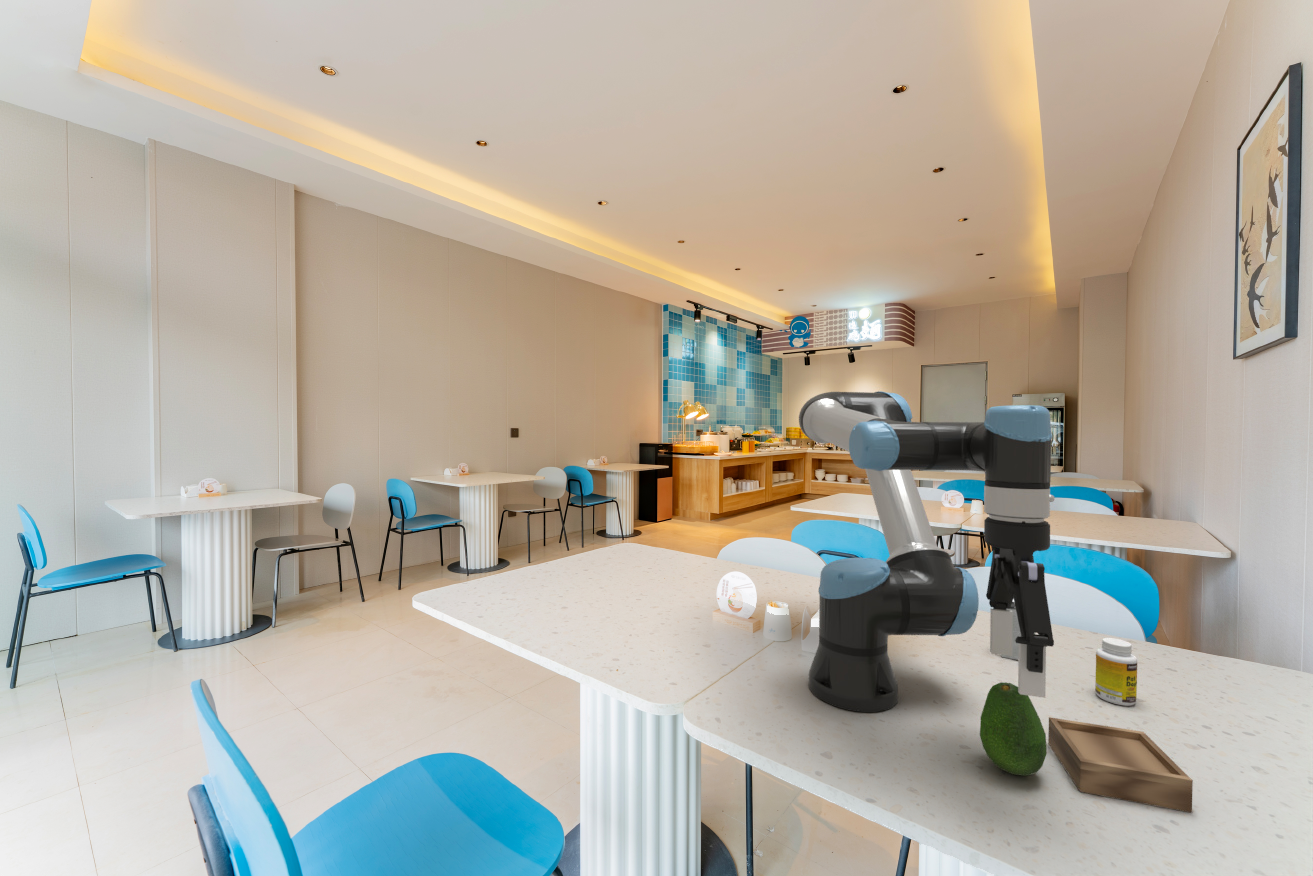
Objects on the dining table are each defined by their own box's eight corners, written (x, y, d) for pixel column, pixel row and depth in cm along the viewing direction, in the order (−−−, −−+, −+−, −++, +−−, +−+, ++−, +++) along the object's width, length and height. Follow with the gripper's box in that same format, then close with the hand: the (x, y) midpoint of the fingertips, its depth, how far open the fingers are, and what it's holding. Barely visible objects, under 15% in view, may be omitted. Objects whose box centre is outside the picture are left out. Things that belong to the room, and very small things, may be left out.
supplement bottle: (1130, 710, 91) (1131, 650, 91) (1090, 697, 96) (1091, 639, 96) (1141, 701, 94) (1142, 643, 94) (1102, 688, 99) (1102, 633, 99)
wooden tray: (1080, 791, 70) (1080, 761, 70) (1048, 743, 81) (1048, 717, 81) (1191, 812, 67) (1192, 780, 66) (1142, 759, 77) (1143, 731, 77)
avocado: (974, 749, 79) (975, 668, 79) (1038, 762, 76) (1039, 678, 76) (984, 781, 72) (985, 692, 72) (1054, 797, 69) (1056, 704, 69)
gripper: (1088, 535, 61) (1087, 722, 61) (1019, 508, 84) (1018, 643, 84) (1011, 530, 63) (1010, 711, 63) (965, 506, 87) (964, 637, 87)
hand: (1015, 672), depth 74 cm, fingers open, 13 cm apart
